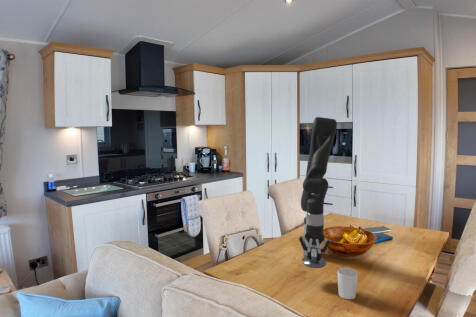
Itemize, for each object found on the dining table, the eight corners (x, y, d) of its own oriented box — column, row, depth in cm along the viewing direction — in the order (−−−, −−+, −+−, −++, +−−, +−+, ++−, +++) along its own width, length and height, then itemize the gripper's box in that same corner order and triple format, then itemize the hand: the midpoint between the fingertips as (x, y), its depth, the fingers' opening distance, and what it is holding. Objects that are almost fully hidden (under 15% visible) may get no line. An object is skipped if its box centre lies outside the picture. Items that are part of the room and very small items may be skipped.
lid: (300, 266, 139) (300, 250, 138) (303, 256, 149) (303, 241, 148) (325, 269, 136) (325, 253, 135) (326, 259, 145) (327, 244, 145)
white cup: (334, 290, 135) (334, 268, 134) (352, 289, 135) (352, 267, 134) (341, 300, 127) (342, 276, 126) (360, 299, 127) (361, 275, 126)
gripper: (297, 223, 139) (296, 261, 141) (331, 226, 134) (330, 265, 136) (299, 218, 146) (299, 254, 148) (332, 221, 141) (331, 258, 143)
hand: (314, 259), depth 142 cm, fingers closed on lid, 3 cm apart
